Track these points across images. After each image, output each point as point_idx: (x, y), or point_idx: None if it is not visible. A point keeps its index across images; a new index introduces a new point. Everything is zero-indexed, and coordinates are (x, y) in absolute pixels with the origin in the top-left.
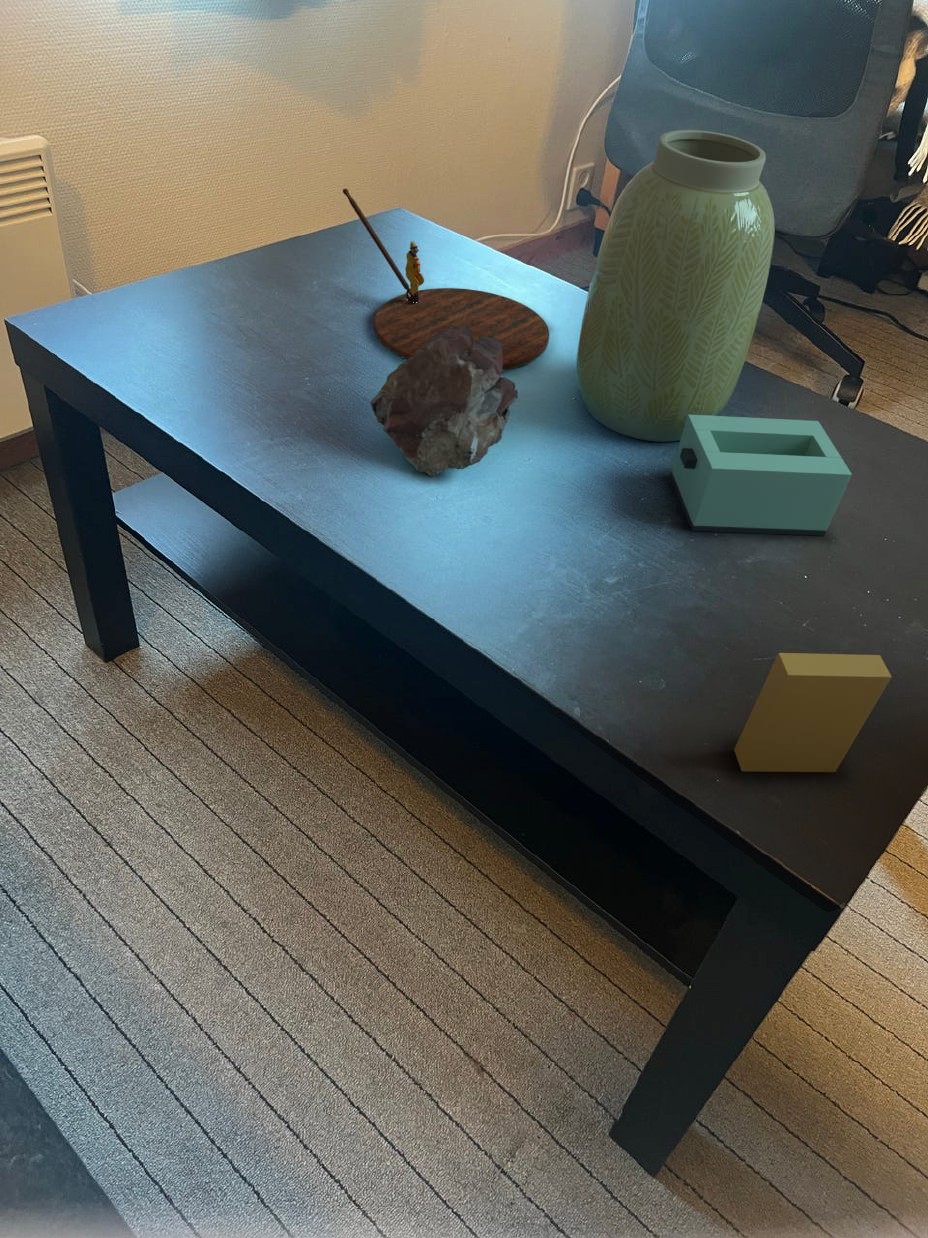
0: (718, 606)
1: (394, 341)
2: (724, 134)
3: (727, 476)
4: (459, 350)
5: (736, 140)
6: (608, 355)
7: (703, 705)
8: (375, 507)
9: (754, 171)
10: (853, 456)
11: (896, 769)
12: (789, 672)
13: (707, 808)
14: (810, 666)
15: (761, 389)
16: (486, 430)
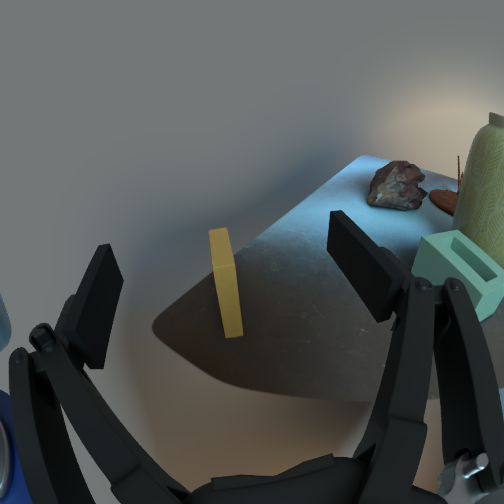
0: (352, 289)
1: (432, 192)
2: None
3: (427, 247)
4: (399, 165)
5: None
6: (457, 199)
7: (264, 284)
8: (339, 198)
9: None
10: None
11: (235, 373)
12: (210, 230)
13: (196, 284)
14: (216, 236)
15: None
16: (387, 193)
